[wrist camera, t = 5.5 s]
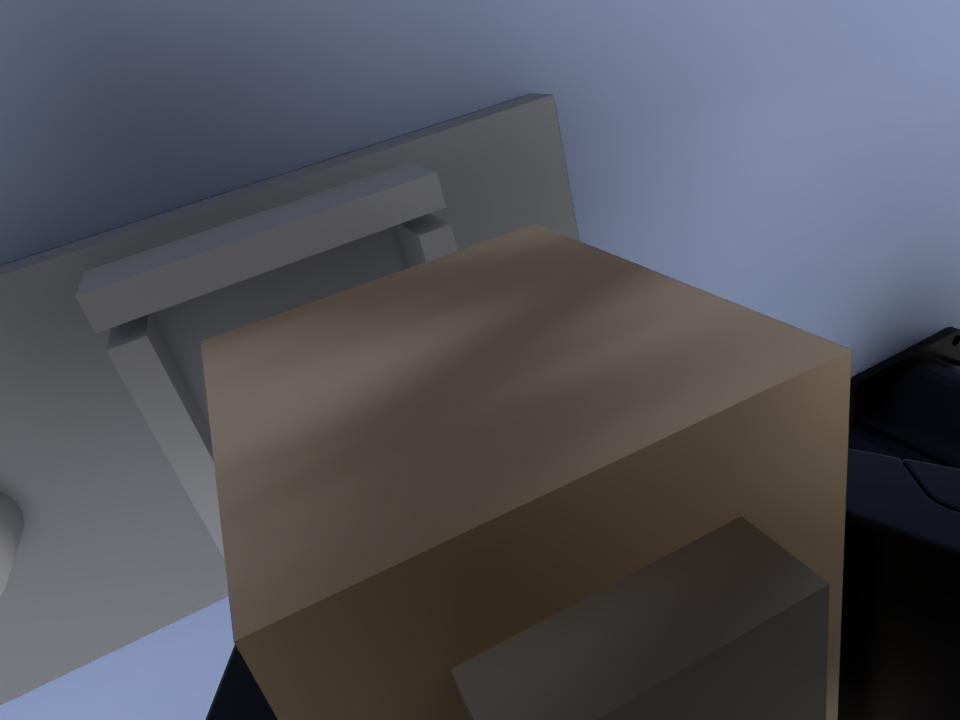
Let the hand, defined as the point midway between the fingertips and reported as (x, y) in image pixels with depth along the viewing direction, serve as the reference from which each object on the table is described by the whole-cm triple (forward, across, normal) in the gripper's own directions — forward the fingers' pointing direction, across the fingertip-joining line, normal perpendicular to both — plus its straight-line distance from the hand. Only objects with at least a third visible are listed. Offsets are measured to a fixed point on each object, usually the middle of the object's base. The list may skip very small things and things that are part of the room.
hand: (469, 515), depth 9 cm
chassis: (+11, +3, +2) cm, 11 cm away
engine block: (+1, 0, 0) cm, 1 cm away
